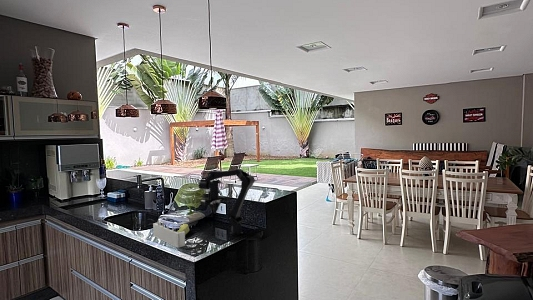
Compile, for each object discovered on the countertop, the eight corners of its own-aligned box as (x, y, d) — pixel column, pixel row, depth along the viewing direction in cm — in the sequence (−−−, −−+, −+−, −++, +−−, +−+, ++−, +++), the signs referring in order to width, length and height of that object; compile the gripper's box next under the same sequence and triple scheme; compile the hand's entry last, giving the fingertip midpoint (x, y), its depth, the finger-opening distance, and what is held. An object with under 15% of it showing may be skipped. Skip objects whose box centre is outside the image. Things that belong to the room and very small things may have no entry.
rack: (185, 245, 167) (184, 226, 167) (177, 247, 164) (177, 228, 163) (160, 234, 188) (160, 217, 188) (153, 236, 185) (153, 218, 184)
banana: (194, 219, 196) (176, 232, 177) (196, 227, 196) (179, 241, 177) (177, 223, 200) (158, 236, 181) (180, 231, 200) (161, 244, 181)
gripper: (217, 187, 206) (218, 209, 206) (195, 190, 192) (195, 214, 192) (228, 188, 198) (228, 211, 198) (205, 192, 184) (205, 216, 185)
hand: (214, 213), depth 194 cm, fingers closed
